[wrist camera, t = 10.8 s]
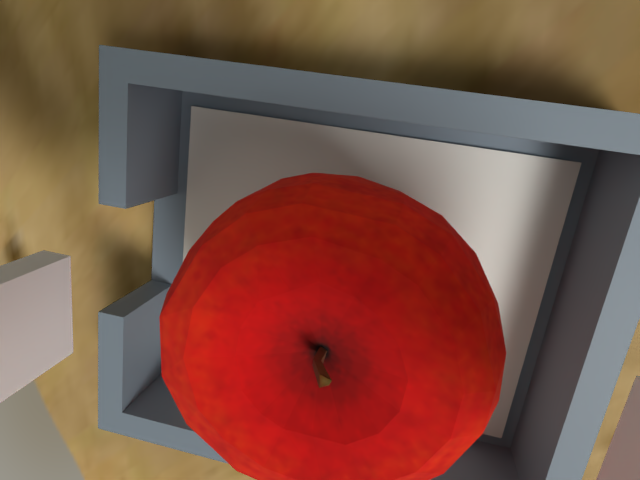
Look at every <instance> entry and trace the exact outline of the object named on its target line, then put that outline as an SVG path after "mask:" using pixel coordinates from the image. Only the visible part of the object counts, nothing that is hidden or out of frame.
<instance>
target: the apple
mask: <svg viewBox="0 0 640 480" xmlns="http://www.w3.org/2000/svg"><path fill="white" fill-rule="evenodd" d="M159 319H160V346H161V373H162V378H163V380H164V382H165V384H166V386H167V388H168V390H169V391H170V393H171V395H172V397H173V399H174V401H175V403H176V405H177V407H178V409H179V411H180V413H181V414H182V416H183V418H184V420H185V422H186V424H187V425H188V426H189V427H190V428H191V429H192V430H193V431H194V432H196V433H197V434H198V435H199V436H200V437H201V438H202V439H203V440H204V441H205V442H206V443H207V444H208V445H209V446H211V447H212V448H213V449H214V450H215V451H216V452H217V453H218V454H219V455H220V456H221V457H222V458H223V459H224V460H225V461H227V462H228V463H229V464H230V465H231V466H232V467H233V468H234V469H235V470H236V471H238V472H241V473H243V474H245V475H248V476H250V477H252V478H255V479H257V480H430V479H432V478H435V477H437V476H439V475H442V474H444V473H445V472H446V471H447V470H448V469H449V468H450V467H451V466H452V465H453V464H454V463H455V462H456V460H457V459H458V458H459V457H460V456H461V455H462V454H463V453H464V452H465V451H466V450H467V449H468V448H469V447H470V446H471V445H472V444H473V443H474V442H475V441H476V440H477V439H478V438H479V437H480V436H481V435H482V434H483V432H484V430H485V428H486V426H487V424H488V422H489V420H490V418H491V416H492V414H493V412H494V410H495V408H496V406H497V404H498V402H499V397H500V391H501V385H502V378H503V372H504V365H505V359H506V347H505V341H504V335H503V329H502V323H501V317H500V311H499V305H498V302H497V299H496V297H495V295H494V293H493V290H492V288H491V286H490V284H489V281H488V279H487V277H486V275H485V272H484V270H483V268H482V265H481V263H480V261H479V259H478V256H477V254H476V253H475V251H474V250H473V249H472V248H471V247H470V246H469V245H468V244H467V243H466V241H465V240H464V239H463V238H462V237H461V236H460V235H459V234H458V233H457V231H456V230H455V229H454V228H453V227H452V226H451V225H450V224H449V223H448V221H447V220H446V219H445V218H444V217H443V216H442V215H441V214H439V213H437V212H435V211H434V210H432V209H430V208H428V207H427V206H425V205H423V204H422V203H420V202H418V201H416V200H415V199H413V198H411V197H409V196H408V195H406V194H404V193H403V192H401V191H399V190H396V189H393V188H390V187H387V186H385V185H382V184H379V183H376V182H373V181H370V180H368V179H365V178H362V177H359V176H350V175H337V174H326V173H308V174H303V175H298V176H292V177H287V178H282V179H280V180H278V181H276V182H274V183H272V184H270V185H268V186H266V187H264V188H262V189H260V190H258V191H256V192H254V193H252V194H250V195H248V196H246V197H244V198H242V199H240V200H238V201H236V202H235V203H234V204H233V205H232V206H230V207H229V208H228V209H227V210H226V211H225V212H223V213H222V214H221V215H220V216H219V217H218V218H216V219H215V220H214V221H213V222H212V223H211V224H210V226H209V227H208V228H207V229H206V230H205V232H204V233H203V234H202V235H201V236H200V238H199V239H198V240H197V241H196V242H195V244H194V245H193V246H192V247H191V248H190V250H189V251H188V253H187V255H186V257H185V259H184V261H183V263H182V265H181V267H180V269H179V271H178V273H177V275H176V277H175V278H174V280H173V282H172V284H171V286H170V288H169V290H168V292H167V294H166V297H165V301H164V304H163V307H162V310H161V313H160V316H159Z"/></svg>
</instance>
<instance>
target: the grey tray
mask: <svg viewBox="0 0 640 480" xmlns="http://www.w3.org/2000/svg"><path fill="white" fill-rule="evenodd" d="M308 173H326V174H337V175H350V176H359V177H362V178H365V179H368V180H370V181H373V182H376V183H379V184H382V185H385V186H387V187H390V188H393V189H396V190H399V191H401V192H403V193H404V194H406V195H408V196H409V197H411V198H413V199H415V200H416V201H418V202H420V203H422V204H423V205H425V206H427V207H428V208H430V209H432V210H434V211H435V212H437V213H439V214H441V215H442V216H443V217H444V218H445V219H446V220H447V221H448V223H449V224H450V225H451V226H452V227H453V228H454V229H455V230H456V231H457V233H458V234H459V235H460V236H461V237H462V238H463V239H464V240H465V241H466V243H467V244H468V245H469V246H470V247H471V248H472V249H473V250H474V251H475V253H476V254H477V256H478V259H479V261H480V263H481V265H482V268H483V270H484V272H485V275H486V277H487V279H488V281H489V284H490V286H491V288H492V290H493V293H494V295H495V297H496V299H497V302H498V305H499V311H500V317H501V323H502V329H503V335H504V341H505V347H506V359H505V365H504V372H503V378H502V385H501V391H500V397H499V402H498V404H497V406H496V408H495V410H494V412H493V414H492V416H491V418H490V420H489V422H488V424H487V426H486V428H485V430H484V432H483V434H482V435H481V436H480V437H479V438H478V439H477V440H476V441H475V442H474V443H473V444H472V445H471V446H470V447H469V448H468V449H467V450H466V451H465V452H464V453H463V454H462V455H461V456H460V457H459V458H458V459H457V460H456V462H455V463H454V464H453V465H452V466H451V467H450V468H449V469H448V470H447V471H446V472H445V473H444V474H442V475H439V476H437V477H435V478H432V479H430V480H582V477H583V474H584V471H585V469H586V466H587V463H588V460H589V457H590V455H591V452H592V449H593V446H594V443H595V441H596V438H597V435H598V432H599V429H600V427H601V424H602V421H603V418H604V416H605V413H606V410H607V407H608V404H609V402H610V399H611V396H612V393H613V390H614V388H615V385H616V382H617V379H618V376H619V374H620V371H621V368H622V365H623V363H624V360H625V357H626V354H627V351H628V349H629V346H630V343H631V340H632V337H633V335H634V332H635V329H636V326H637V323H638V321H639V318H640V114H637V113H629V112H621V111H613V110H605V109H598V108H590V107H582V106H574V105H566V104H558V103H551V102H543V101H535V100H527V99H519V98H511V97H504V96H496V95H488V94H480V93H472V92H464V91H457V90H449V89H441V88H433V87H425V86H417V85H410V84H402V83H394V82H386V81H378V80H370V79H363V78H355V77H347V76H339V75H331V74H324V73H316V72H308V71H300V70H292V69H284V68H277V67H269V66H261V65H253V64H245V63H237V62H230V61H222V60H214V59H206V58H198V57H190V56H183V55H175V54H167V53H159V52H151V51H143V50H136V49H128V48H120V47H112V46H104V45H99V204H103V205H109V206H114V207H119V208H125V209H126V208H130V207H133V206H136V205H140V204H143V203H147V202H150V201H153V200H154V225H153V252H152V280H151V281H149V282H147V283H146V284H144V285H142V286H141V287H139V288H137V289H136V290H134V291H132V292H131V293H129V294H127V295H126V296H124V297H122V298H121V299H119V300H117V301H116V302H114V303H112V304H111V305H109V306H107V307H106V308H104V309H102V310H101V311H99V312H98V428H99V429H103V430H106V431H110V432H114V433H117V434H121V435H125V436H128V437H132V438H136V439H139V440H143V441H147V442H151V443H154V444H158V445H162V446H165V447H169V448H173V449H176V450H180V451H184V452H188V453H191V454H195V455H199V456H202V457H206V458H210V459H213V460H217V461H221V462H225V463H228V462H227V461H225V460H224V459H223V458H222V457H221V456H220V455H219V454H218V453H217V452H216V451H215V450H214V449H213V448H212V447H211V446H209V445H208V444H207V443H206V442H205V441H204V440H203V439H202V438H201V437H200V436H199V435H198V434H197V433H196V432H194V431H193V430H192V429H191V428H190V427H189V426H188V425H187V424H186V422H185V420H184V418H183V416H182V414H181V413H180V411H179V409H178V407H177V405H176V403H175V401H174V399H173V397H172V395H171V393H170V391H169V390H168V388H167V386H166V384H165V382H164V380H163V378H162V373H161V346H160V319H159V316H160V313H161V310H162V307H163V304H164V301H165V297H166V294H167V292H168V290H169V288H170V286H171V284H172V282H173V280H174V278H175V277H176V275H177V273H178V271H179V269H180V267H181V265H182V263H183V261H184V259H185V257H186V255H187V253H188V251H189V250H190V248H191V247H192V246H193V245H194V244H195V242H196V241H197V240H198V239H199V238H200V236H201V235H202V234H203V233H204V232H205V230H206V229H207V228H208V227H209V226H210V224H211V223H212V222H213V221H214V220H215V219H216V218H218V217H219V216H220V215H221V214H222V213H223V212H225V211H226V210H227V209H228V208H229V207H230V206H232V205H233V204H234V203H235V202H236V201H238V200H240V199H242V198H244V197H246V196H248V195H250V194H252V193H254V192H256V191H258V190H260V189H262V188H264V187H266V186H268V185H270V184H272V183H274V182H276V181H278V180H280V179H282V178H287V177H292V176H298V175H303V174H308ZM228 464H229V463H228Z"/></svg>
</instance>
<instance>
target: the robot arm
mask: <svg viewBox="0 0 640 480" xmlns="http://www.w3.org/2000/svg"><path fill="white" fill-rule="evenodd" d="M72 353H73V325H72V292H71V259H70V256H68V255H63V254H59V253H54V252H49V251H45V250H43V251H40V252H38V253H35V254H32V255H29V256H27V257H24V258H21V259H18V260H15V261H13V262H10V263H7V264H4V265H2V266H0V403H1V402H2V401H4V400H5V399H7V398H8V397H9V396H11V395H12V394H14V393H15V392H17V391H18V390H19V389H21V388H22V387H24V386H25V385H27V384H28V383H30V382H31V381H33V380H34V379H36V378H37V377H38V376H40V375H41V374H43V373H44V372H46V371H47V370H49V369H50V368H52V367H53V366H54V365H56V364H57V363H59V362H60V361H62V360H63V359H65V358H66V357H67V356H69V355H70V354H72ZM597 480H640V376H636V378H635V381H634V383H633V386H632V389H631V391H630V394H629V396H628V399H627V402H626V404H625V407H624V409H623V412H622V415H621V417H620V420H619V422H618V425H617V428H616V430H615V433H614V435H613V438H612V441H611V443H610V446H609V448H608V451H607V454H606V456H605V459H604V461H603V464H602V467H601V469H600V472H599V474H598V477H597Z"/></svg>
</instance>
